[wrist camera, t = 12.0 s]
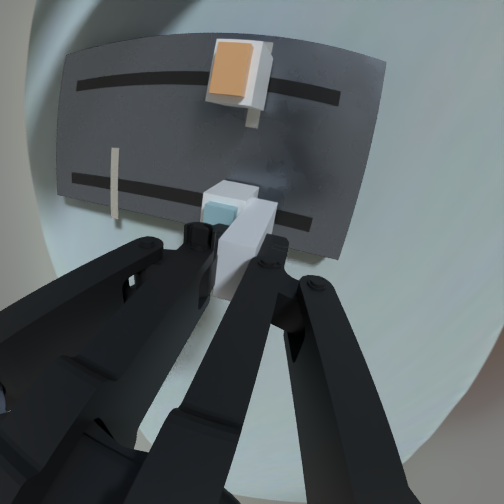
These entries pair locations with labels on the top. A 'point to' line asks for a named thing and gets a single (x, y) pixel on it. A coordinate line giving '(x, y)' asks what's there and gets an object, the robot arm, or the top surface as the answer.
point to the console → (219, 132)
